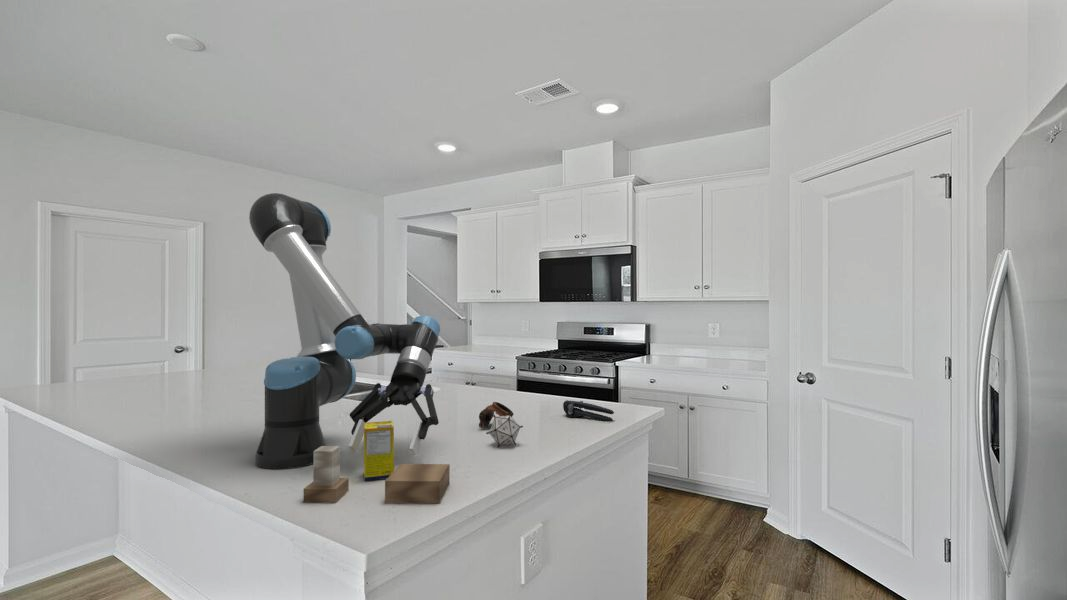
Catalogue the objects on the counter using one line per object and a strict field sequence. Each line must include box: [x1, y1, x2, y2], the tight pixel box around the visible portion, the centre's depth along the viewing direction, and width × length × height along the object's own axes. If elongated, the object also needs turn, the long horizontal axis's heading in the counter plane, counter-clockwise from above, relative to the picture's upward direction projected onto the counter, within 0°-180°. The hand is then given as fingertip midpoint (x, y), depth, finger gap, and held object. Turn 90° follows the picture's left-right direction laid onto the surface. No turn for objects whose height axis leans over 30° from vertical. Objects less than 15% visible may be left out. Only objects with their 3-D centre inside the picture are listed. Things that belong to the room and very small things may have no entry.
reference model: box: [302, 445, 350, 504], centre depth 96 cm, size 6×6×9 cm
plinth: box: [384, 463, 451, 504], centre depth 97 cm, size 10×10×4 cm
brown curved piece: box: [478, 401, 515, 429], centre depth 151 cm, size 12×10×8 cm
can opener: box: [562, 399, 615, 422], centre depth 163 cm, size 18×7×6 cm, turn 57°
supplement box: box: [363, 420, 395, 482], centre depth 108 cm, size 6×6×11 cm
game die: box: [485, 413, 524, 449], centre depth 131 cm, size 9×8×10 cm
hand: (382, 450), depth 107 cm, fingers open, 13 cm apart
